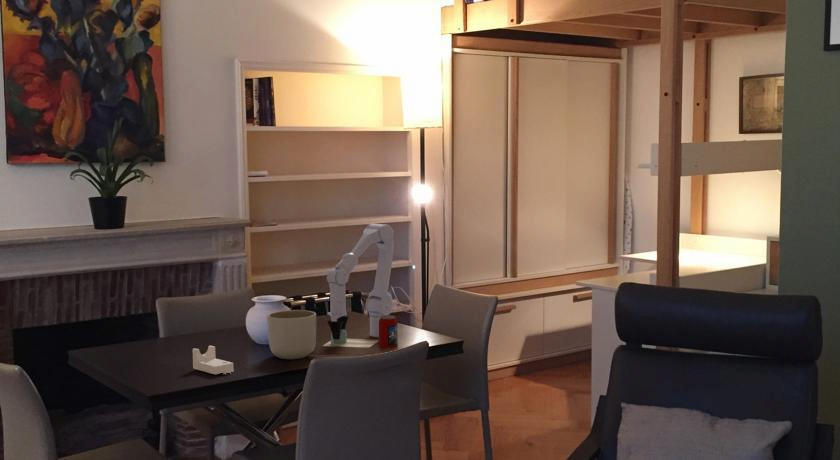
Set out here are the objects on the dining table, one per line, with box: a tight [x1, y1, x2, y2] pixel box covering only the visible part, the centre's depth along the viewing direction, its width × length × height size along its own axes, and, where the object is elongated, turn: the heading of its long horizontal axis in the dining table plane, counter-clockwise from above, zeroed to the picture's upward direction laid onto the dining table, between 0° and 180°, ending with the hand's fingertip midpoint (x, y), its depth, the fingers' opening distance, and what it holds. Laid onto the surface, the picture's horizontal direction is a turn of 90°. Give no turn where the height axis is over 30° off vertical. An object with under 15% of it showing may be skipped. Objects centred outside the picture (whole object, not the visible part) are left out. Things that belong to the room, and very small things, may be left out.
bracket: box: [192, 345, 235, 375], centre depth 316 cm, size 13×7×8 cm, turn 45°
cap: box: [330, 328, 348, 344], centre depth 354 cm, size 6×6×4 cm
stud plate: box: [322, 338, 379, 349], centre depth 353 cm, size 14×18×4 cm
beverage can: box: [378, 314, 399, 349], centre depth 346 cm, size 7×7×12 cm
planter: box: [266, 309, 317, 360], centre depth 336 cm, size 17×17×15 cm
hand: (338, 337), depth 354 cm, fingers open, 7 cm apart
